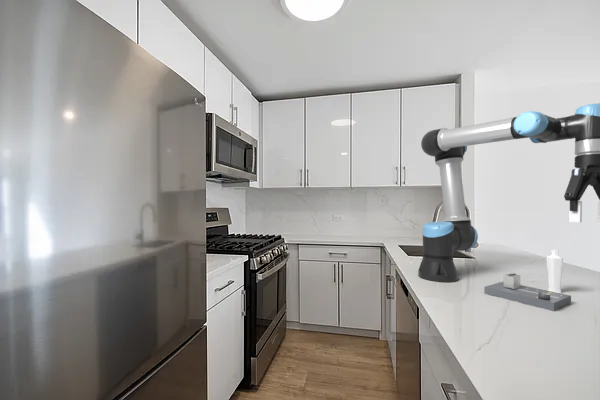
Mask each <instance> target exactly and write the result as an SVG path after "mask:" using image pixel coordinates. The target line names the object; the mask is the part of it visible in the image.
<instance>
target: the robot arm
mask: <svg viewBox="0 0 600 400" xmlns="http://www.w3.org/2000/svg"><path fill="white" fill-rule="evenodd" d="M520 139H521V140H522V139H529V140H530V141H531V143H533V144H541V143H543V144H547V143H551V142H558V141H564V140H572V139H574V155H575V157H574V168H575V169H571V173H570V174H571V175H570V177H569V178H570V179H569V182H568V185H567V187H566V189H565V193H564V195H563V197H564V200H565V201H566V202H568V201H569V212H568V213H569V218H568V220H569V222H568V223H582V219H583V218H582V216H583V214H582V213H583V201H582V200H581V198H582V197H583V196H584V193H585V192H586V190H587V188H588V187H589V186H591V187H592V188H593V190H594V192H595V195H596V196H597V198H598V200H599V201H597V216H596V217H597V218H596V219H597V222H598V223H600V103H599V102H598V103H590V104H585V105H582V106H579V107H577V108H576V109H575V113H574V114H573V115H572V114H571V115H569V116H564V117H563V116H562V117H557V118H555V117H552V116H550V115H547V114H544V113H542V112H540V111H534V110H533V111H532V110H528V111H524V112H522V113H520V114H519V115H518V116H514V117H509V118H504V119H498V120H493V121H488V122H482V123H477V124H472V125H467V126H461V127H456V128H451V129H448V128H446V127H442V128H438V129H431V130H430V131H427V132H426V133H425V134H424V136H422V139H421V142H420V145H421V146H420V147H421V149H422V151H423V153H425V154H426V155H428V156H431V157H434V162H435V165H437V167H439V173H440V174H439V176H440V184H441V194H442V204H443V213H444V215H443V216H444V218H443V219H442V220H441V221H432V222H431V221H430V222H426V223H425V224H424V225H423V228H422V259H421V262H420V265H419V267H418V270H417V272H418V273H417V274H418V277H419V278H421V279H424V280H428V281H433V282H440V283H451V282H452V283H454V282H457V281H458V280H459V279H458V278H459V275H458V271H457V268H456V266H455V262H454V252H458V251H459V252H463V251H464V252H465V251H468V250H470V249H472V248H473V247H475V246H476V244H477V243H478V239H479V238H478V237H479V234H478V231H477V229H476V228H474V226H473V225H472V221H471V220H472V219H471V218H469V217H468V216H467V211H466V203H465V195H464V194H465V193H464V186H463V178H462V175H463V174H462V168H461V163H462V162H463V161H464V157H465V154H466V152H467V150H468V146H475V145H482V144H483V145H484V144H488V143H489V144H490V143H496V142H505V141H511V140H520Z"/></svg>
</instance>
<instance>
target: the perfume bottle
mask: <svg viewBox="0 0 600 400" xmlns="http://www.w3.org/2000/svg"><path fill="white" fill-rule="evenodd" d="M550 251H551V254H550V255H547V256H546V267H547V268H546V269H547V277H548V278H547V279H548V288H547V291H552V292H556V293H561V294H563V292H562V290H561V287H562V286H561V285H562V272H563V261H564V258H563V257H561V256H560V255H559V249H550Z"/></svg>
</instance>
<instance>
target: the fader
mask: <svg viewBox="0 0 600 400" xmlns="http://www.w3.org/2000/svg"><path fill="white" fill-rule="evenodd" d="M503 282H504V287H508V288H512V289H515V288H518V287H520V285H521V275H520V274H517V273H515V272H514V273H506V274H503Z"/></svg>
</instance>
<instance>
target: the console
mask: <svg viewBox="0 0 600 400" xmlns="http://www.w3.org/2000/svg"><path fill="white" fill-rule="evenodd" d="M483 291H484V294H485V295H488V296H492V297H497V298H500V299H501V298H502V299H505V300H509V301H513V302H516V301H517V302H516V303H521V304H524V305H528V306H533V307H536V308H541V309H544V310H548V311H552V312H555V311H557V310H560V309H562V308H564V307H566V306H568V305H570V304H572V295H569V294H565V293H556V292H552V291H548V289H547V290H546V289H540V288H537V287H532V286H527V285H522V284H520V287H518V288H515V289H512V288H508V287H504V281H500V282H496V283H493V284H489V285H486V286H484V290H483Z"/></svg>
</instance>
